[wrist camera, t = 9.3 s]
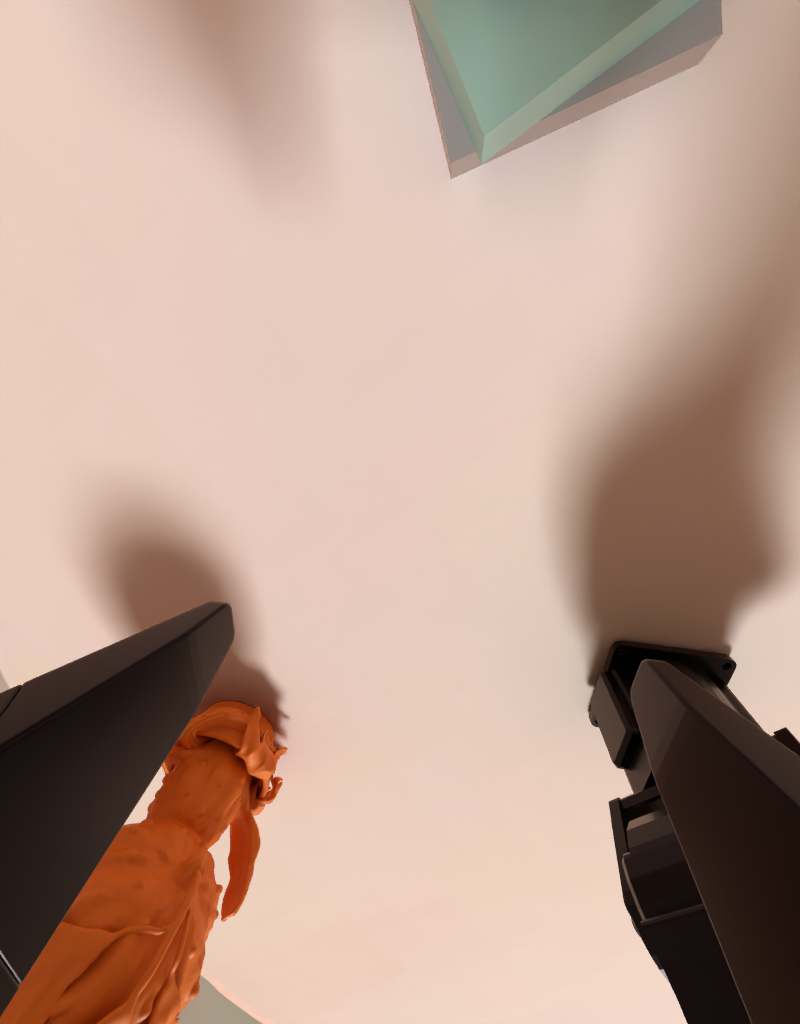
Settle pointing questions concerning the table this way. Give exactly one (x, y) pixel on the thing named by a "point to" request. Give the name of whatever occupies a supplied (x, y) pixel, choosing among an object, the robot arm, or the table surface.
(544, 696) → the table surface
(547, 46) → the teal tile
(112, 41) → the table surface
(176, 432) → the table surface
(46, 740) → the robot arm
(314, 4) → the table surface
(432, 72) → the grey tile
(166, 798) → the orange statue
